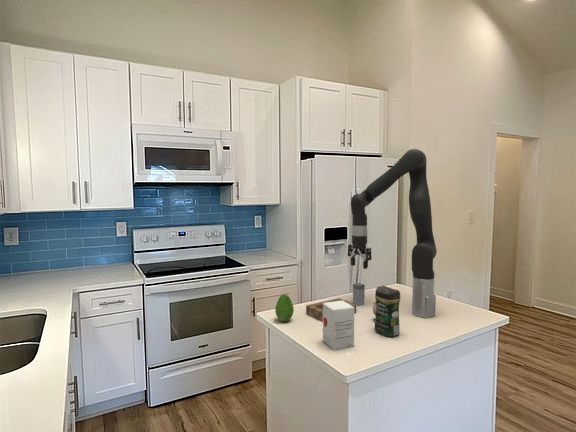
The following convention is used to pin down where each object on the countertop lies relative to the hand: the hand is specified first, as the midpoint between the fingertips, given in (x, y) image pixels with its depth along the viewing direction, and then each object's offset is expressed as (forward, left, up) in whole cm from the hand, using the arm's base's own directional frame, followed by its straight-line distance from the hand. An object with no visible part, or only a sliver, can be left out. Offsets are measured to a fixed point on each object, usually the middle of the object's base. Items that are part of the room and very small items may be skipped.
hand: (359, 267), depth 185 cm
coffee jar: (-33, +16, -19) cm, 41 cm away
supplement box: (-30, +39, -19) cm, 53 cm away
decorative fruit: (-23, +7, -19) cm, 31 cm away
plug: (0, 0, -19) cm, 19 cm away
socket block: (-3, +20, -19) cm, 28 cm away
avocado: (+1, +43, -19) cm, 47 cm away
